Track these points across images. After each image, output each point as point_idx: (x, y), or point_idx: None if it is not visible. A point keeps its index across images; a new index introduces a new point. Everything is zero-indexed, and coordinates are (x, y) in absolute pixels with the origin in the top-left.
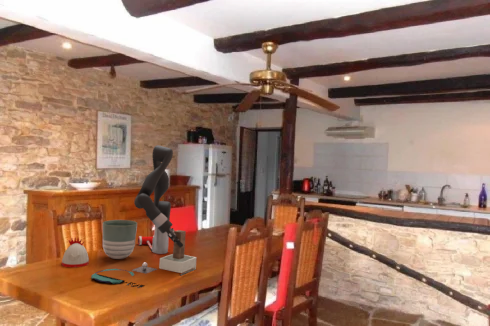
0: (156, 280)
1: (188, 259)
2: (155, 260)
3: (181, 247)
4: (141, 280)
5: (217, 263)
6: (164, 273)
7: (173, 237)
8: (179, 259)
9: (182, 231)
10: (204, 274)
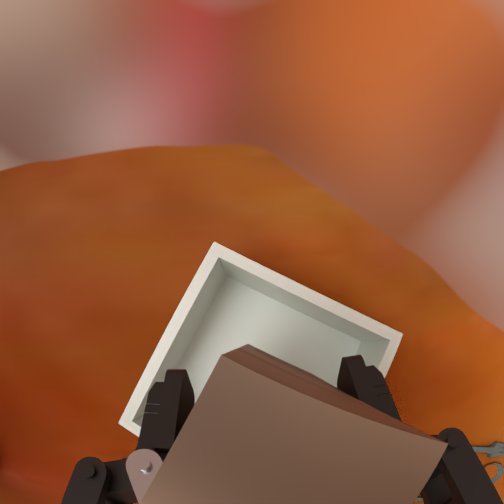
0: None
1: (196, 311)
2: None
3: (313, 377)
4: None
5: (99, 163)
6: None
7: (479, 491)
8: (161, 381)
9: (322, 451)
10: (312, 210)
